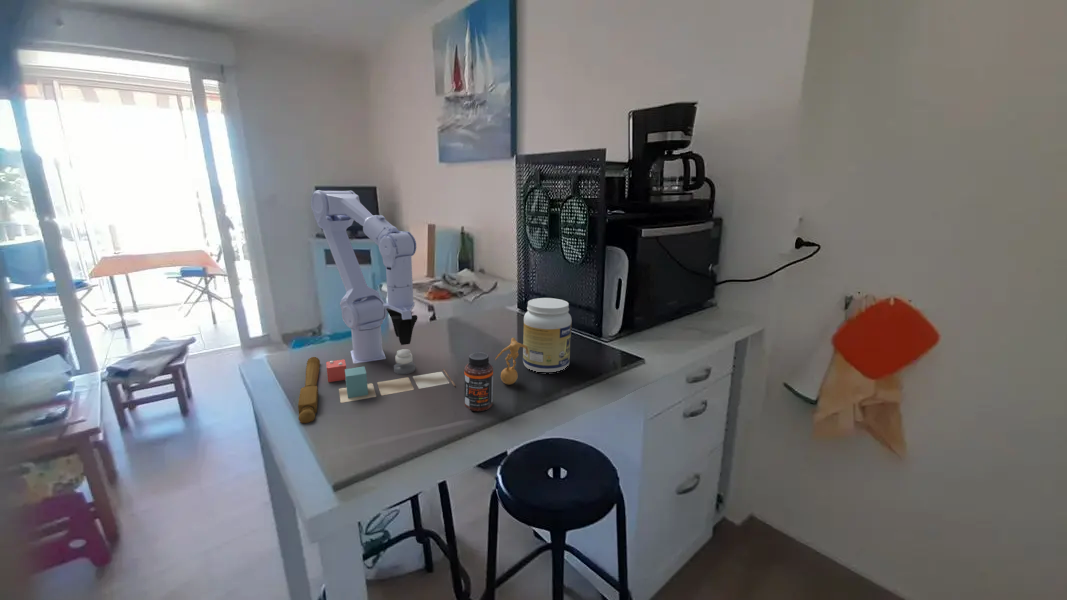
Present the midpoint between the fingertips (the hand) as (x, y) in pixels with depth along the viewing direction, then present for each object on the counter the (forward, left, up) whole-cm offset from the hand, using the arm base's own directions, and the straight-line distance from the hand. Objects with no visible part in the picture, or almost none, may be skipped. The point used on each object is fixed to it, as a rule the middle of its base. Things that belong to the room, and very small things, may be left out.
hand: (403, 339), depth 103 cm
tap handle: (+2, -21, -9) cm, 23 cm away
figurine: (+17, +21, -9) cm, 28 cm away
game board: (+8, -4, -8) cm, 12 cm away
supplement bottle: (+23, +11, -9) cm, 27 cm away
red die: (-2, -15, -8) cm, 17 cm away
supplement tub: (+10, +34, -9) cm, 36 cm away
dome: (0, 0, -5) cm, 5 cm away
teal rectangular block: (+8, -12, -8) cm, 16 cm away
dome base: (0, 0, -8) cm, 8 cm away
